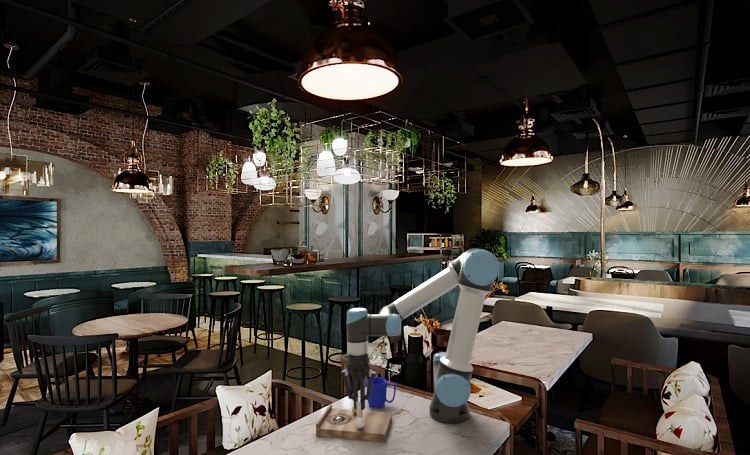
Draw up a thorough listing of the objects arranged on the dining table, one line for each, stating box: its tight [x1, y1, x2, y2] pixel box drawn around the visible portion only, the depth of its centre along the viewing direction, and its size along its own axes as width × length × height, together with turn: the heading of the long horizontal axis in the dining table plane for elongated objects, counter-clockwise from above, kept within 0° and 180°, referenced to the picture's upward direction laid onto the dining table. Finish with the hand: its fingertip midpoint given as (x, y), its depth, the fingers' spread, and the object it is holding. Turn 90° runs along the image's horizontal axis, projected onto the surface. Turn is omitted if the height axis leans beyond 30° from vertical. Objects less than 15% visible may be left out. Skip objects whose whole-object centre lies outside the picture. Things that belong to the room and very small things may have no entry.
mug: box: [365, 376, 397, 409], centre depth 161 cm, size 8×12×10 cm
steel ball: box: [334, 417, 343, 422], centre depth 145 cm, size 3×3×3 cm
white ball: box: [355, 417, 365, 429], centre depth 138 cm, size 4×4×4 cm
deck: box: [315, 403, 393, 443], centre depth 144 cm, size 24×16×4 cm, turn 79°
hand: (359, 418), depth 143 cm, fingers closed
